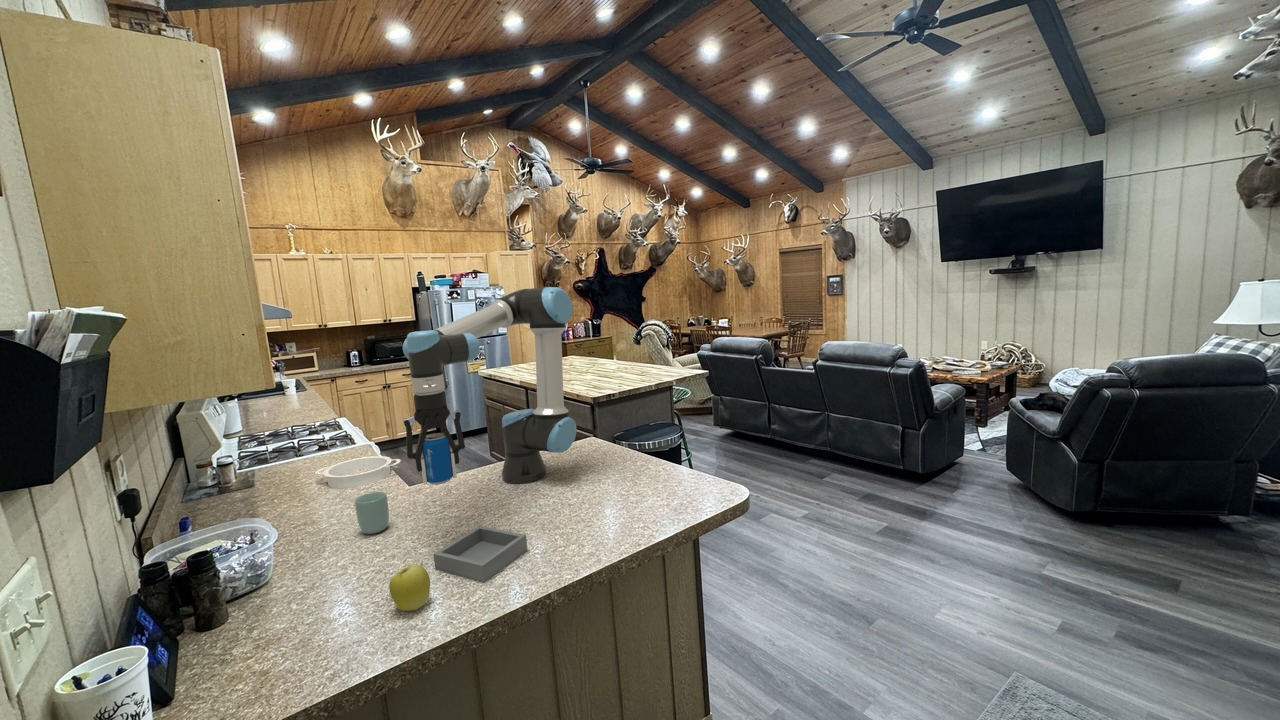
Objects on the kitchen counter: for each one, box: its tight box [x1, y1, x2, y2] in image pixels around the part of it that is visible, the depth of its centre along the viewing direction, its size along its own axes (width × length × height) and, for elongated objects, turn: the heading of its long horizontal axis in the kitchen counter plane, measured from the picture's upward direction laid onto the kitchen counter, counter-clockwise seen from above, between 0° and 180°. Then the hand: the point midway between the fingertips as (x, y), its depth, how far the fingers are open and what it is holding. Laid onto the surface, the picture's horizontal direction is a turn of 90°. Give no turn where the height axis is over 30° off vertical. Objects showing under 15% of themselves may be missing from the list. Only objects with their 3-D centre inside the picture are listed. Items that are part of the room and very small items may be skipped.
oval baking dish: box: [315, 455, 402, 489], centre depth 191 cm, size 29×22×5 cm
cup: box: [354, 491, 390, 535], centre depth 145 cm, size 8×8×10 cm
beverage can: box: [422, 432, 453, 486], centre depth 134 cm, size 6×6×12 cm
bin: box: [433, 525, 528, 583], centre depth 126 cm, size 15×15×4 cm
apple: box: [388, 564, 431, 612], centre depth 109 cm, size 8×8×10 cm
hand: (439, 479), depth 134 cm, fingers closed on beverage can, 6 cm apart
